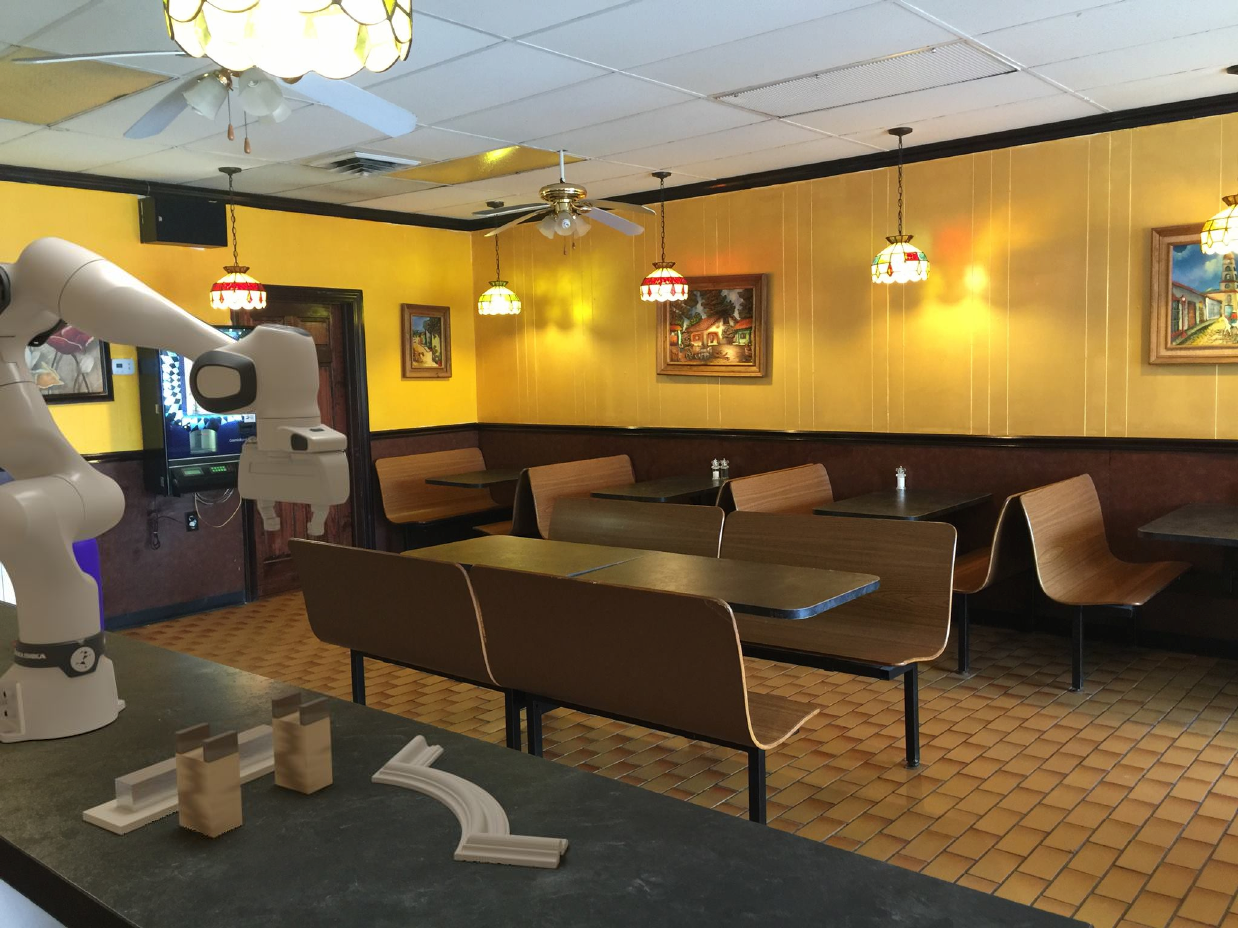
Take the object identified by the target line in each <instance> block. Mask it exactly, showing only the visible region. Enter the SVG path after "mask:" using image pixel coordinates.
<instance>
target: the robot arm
mask: <svg viewBox="0 0 1238 928" xmlns="http://www.w3.org/2000/svg"><path fill="white" fill-rule="evenodd" d="M67 325H70V327H72V328H74V329H76V330H77V331H79V332H81V333H83V334H85V335H88V336H90V337H93V338H95V339H97V340H100V341H102V342H106V343H109V344H113V345H120V346H130V347H131V346H132V347H139V348H148V349H155V350H160V351H165V352H170V353H172V354H176V355H179V356H181V357H183V358H186V359H188V360H189V361H191V362H193V364H192V366H191V369H190V372H189V379H188V385H189V389H190V394H191V395H192V397H193V400H194V402H196V405H198V406H199V407H200V408H201V409H203V410H205V411H206V412H208V413H211V414H215V415H221V416H235V415H254V414H255V421H256V436H255V435H253V436H249V437H247V439H246V440H245V441H244V442H243V444H242V445H241V454H240V456H239V460H238V470H237V471H238V472H237V473H238V474H237V475H238V476H237V490H238V493H239V495H240V496H241V498H243V499H247V500H256V506H257V507H256V508H257V509H258V511H259V514H260V515H261V517H262V519H263V529H264V531H271V532H272V531H278V530H280V529H281V525H280V524H281V523H280V522H281V518H280V517H277V515H276V512H275V509H274V506H275V505H276V502H281V503H282V502H286V503H298V504H308V505H310V510H311V512H313V515H312V519H311V522H306V523H307V534H308V535H309V536H322V535H324V533H325V521H326V519H327V517H328V515H329V512H330V506H335V505H340V504H345V503H346V502H347V500H348V498H349V497H350V486H351V485H350V470H349V462H348V458H347V455H346V453H344V452H343V450H346V449H347V447H348V439H347V436H346V435H345V434H344V433H341V432H339V431H337V430H335V429H333V428H331V427H329V426H327V425H326V424H324V423H322V418H321V411H320V407H319V404H318V394H319V389H320V373H319V362H318V354H317V348H316V344H315V341H314V338H313V336H312V335H311V333H309V332H308V331H307V330H306V329H303V328H300V327H296V326H292V325H291V326H290V325H284V324H277V323H263V324H260V325H257V326H256V327H255V328H254V329H253V330H252V331H251V332H250V333H249V334H248V335H246V336H244V337H242V338H241V339H238V338H235V337H234V336H231V335H230V334H228V333H227V332H224V331H223V330H221V329H220V328H217V327H215V326H213V325H212V324H211V323H209V322H206V321H204V320H203V319H201V318H199V317H197V316H196V315H194V314H191V313H190V312H188V311H186V310H184V309H183V308H182V307H180V306H178V305H177V304H175V303H174V302H172V301H171V300H169V299H168V298H166V297H164V296H163V295H161V294H160V293H159V292H157V291H155V290H154V289H153V288H151V287H150V286H147V285H146V284H145V283H144V282H142V281H141V280H139V279H138V278H136V277H135V276H133V275H131V274H130V273H129V272H128V271H126V270H125V269H123V268H121V267H119V266H118V265H116V264H115V263H114V262H112V261H111V260H108V259H107V258H105V257H104V256H101V255H100V254H98V253H96V252H94V251H92V250H89V249H88V248H86V247H83V246H81V245H79V244H78V243H77V244H76V243H73V242H71V241H69V240H66V239H63V238H59V237H55V236H47V237H40V238H38V239H35V240H33V241H32V242H30V243H28V245H26V246H25V247H24V249H22V251H21V252H20V254H19V256H18V258H17V260H16V261H14V262H13V263H11V262H0V468H1V469H2V470H4V471H5V472H6V473H8V475H10V476H11V477H12V478H13V479H14V480H12V481H9V482H6V483H4V484H0V563H1V565H2V566H3V568H4V569H5V571H6V574H7V575H8V578H9V580H10V583H11V586H12V589H13V592H14V597H15V605H16V613H17V624H18V637H19V638H18V639H16V640H12V643H16V644H15V645H13V646H12V648H14V651H13V653H14V656H13V662H14V663H13V664H12V665H11V666H10V667H9V669H7V671H5V673H4V674H2V676H1V677H0V741H1V742H2V743H15V742H22V741H29V740H45V739H48V740H49V739H57V738H64V737H70V736H74V735H75V736H76V735H79V734H84V733H87V732H91V731H93V730H97V729H99V728H103V727H105V726H106V725H109V724H110V723H112V722H114V721H115V720H116V719H117V718H118V716H119V712H121V711H122V710H123V709H125V708H126V703H125V700H124V699H119V697H118V689H117V684H116V678H115V676H116V675H115V670H114V665H113V661H112V660H111V659H110V658H109V657H107V656H105V653H106V637H104V636H105V630H104V631H103V630H102V629H101V628H100V612H99V596H98V585H97V583H96V581H95V579H94V578H93V577H92V576H90V575H89V574H87V573H85V572H83V571H82V570H81V568H80V567H79V565H78V563H77V561H76V559H75V556H74V553H73V549H72V543H75V542H79V541H84V540H88V539H92V538H94V539H95V538H96V537H98V536H100V535H103V533H105V532H107V531H109V530H111V529H112V528H113V527H115V526H116V525H117V524H118V523H119V522H120V521H121V520H122V518H123V516H124V511H125V509H126V508H125V507H126V501H125V494H124V492H123V491H122V487H120V486H119V485H120V484H118V483H117V481H115V479H113V478H111V477H110V476H108V475H106V474H104V473H102V472H100V471H99V470H98V469H95V468H94V467H93V466H92V465H91V463H89V462H88V461H87V460H86V459H85V458H84V457H83V456H82V455H81V454H80V453H79V452H78V451H77V449H76V448H74V446H73V445H72V444H71V443H70V442H69V440H68V439H67V437H65V435H64V434H63V432H62V430H61V429H60V428H59V426H58V425H57V423H56V421H55V418H54V417H53V415H52V413H51V411H50V409H49V407H48V405H47V403H46V401H45V399H44V397H43V394H42V392H41V390H40V389H39V387H38V384H37V382H36V381H35V379H34V377H33V374H32V372H31V370H30V368H29V367H28V364H27V363H28V362H27V361H26V349H27V347H30V348H40V347H41V346H44V345H45V344H46V343H47V342H48V340H50V338H51V337H52V336H55V335H56V334H57V333H59V332H60V331H62V330H63V329H64V328H65V327H67Z"/></svg>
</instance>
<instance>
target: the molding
mask: <svg viewBox="0 0 1238 928" xmlns="http://www.w3.org/2000/svg"><path fill="white" fill-rule="evenodd" d="M443 753H444V748H443V747H442V746H441V745H439V744H436V745H431V746H429V745H428V743H427V741H426V738H425V736H423V735H419V734H418V735H415V737H414V738H413V739H412V740H411V741H409V742H408V743H407V744H406V745H404V747H403V748H402V749H401V750H400V751H399V752H397V754H395V755H394V756H393V757H391V758H390V760H388V761H387V762H386V763H385V764H384V765H383V766H382V767H381V768H380V769H379V770H378V771H377V772H375V774H373V775H372V776H371V783H377V784H378V783H379V784H385V785H392V786H397V787H402V788H405V789H410V790H412V791H417V792H419V793H422V794H425V795H427V796H430V797H431V798H433V799H435V800H437V801H439V802H440V803H442V804H444V806H446V807H447V808H448V809H449V810H450V811H452V813H453V814H454V815H455V817H456V818H457V820H458V822H459V825H460V828H461V831H462V832H461V838H460V841H459V843H458V846H457V848H456V850H455V852H453V858H454V861H463V860H466V861H465V862H473V861H477V862H476V863H485V862H486V864H497V863H501V864H500V865H509V864H511V865H510V866H522V867H533V866H534V868H536V867H537V868H545V869H546V868H547V869H556V868H557V867H558V865H559V863H560V856H563V855H564V853H565V852H566V850H567V848H568V846H569V840H568V839H567V838H557V837H555V838H554V837H544V836H543V837H542V836H531V835H530V836H529V835H518V834H517V835H515V834H510V823H509V819H508V817H507V814H506V812H505V810H504V809H503V807H502V806H501V804H500V803H499V802H498V801H497V800H496V799H495V798H494V797H493V795H491V794H490V793H488V791H486V790H485V789H483V788H481V787H480V786H478V785H476V784H475V783H474V782H471V781H469V780H467V779H464V778H462V777H460V776H457V775H455V774H452V773H450V772H446V771H443V770H440V769H437V768H432V767H430V766H431V765H432V764H433V763H434V762H435V761H436V760H437V759H438V758H439V757H440V756H441V755H442V754H443ZM479 861H480V862H479ZM463 862H464V861H463ZM487 862H489V863H487Z"/></svg>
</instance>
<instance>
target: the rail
mask: <svg viewBox="0 0 1238 928" xmlns="http://www.w3.org/2000/svg"><path fill="white" fill-rule="evenodd" d="M238 752H239V767H240V769H243V768H245V767H248V766H250V765H253V764H255V763H258V762H260V761H263V760H265V759H268V758H270V757H272V756H274V745H273V726H272V725H267V724H264V723H263V724H261V725H258V726H256V727H253V728H250V729H248V730H244V731H242V732H239V733H238ZM114 783H115V784H114V785H115V799H116V804H117V807H119V808H122V809H125V810H127V811H130V812H133V813H134V812H136V811H139V810H141V809H144V808H146V807H149V806H151V805H154V804H156V803H159V802H161V801H164V800H166V799H169V798H171V797H174V796H176V795H178V788H177V771H176V756H174V757H171V758H168V759H165V760H163V761H160V762H158V763H154V764H153V765H150V766H147V767H144V768H141V769H138V770H135V771H133V772H130V773H127V774H125V775H122V776H119V777H117V778H114Z"/></svg>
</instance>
